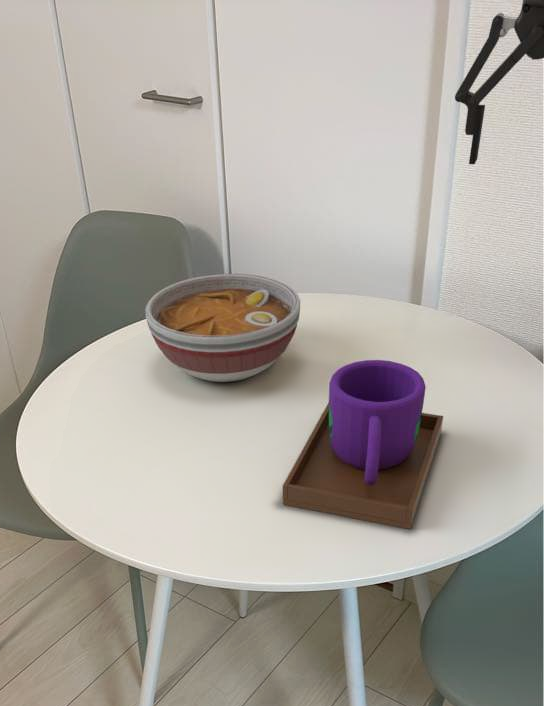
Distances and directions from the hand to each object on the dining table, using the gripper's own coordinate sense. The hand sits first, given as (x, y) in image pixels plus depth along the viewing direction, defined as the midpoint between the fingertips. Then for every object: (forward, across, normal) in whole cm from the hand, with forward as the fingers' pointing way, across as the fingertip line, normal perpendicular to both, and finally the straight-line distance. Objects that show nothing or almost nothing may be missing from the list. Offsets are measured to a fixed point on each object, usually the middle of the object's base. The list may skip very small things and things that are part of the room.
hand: (525, 164), depth 100 cm
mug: (+26, +10, +37) cm, 46 cm away
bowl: (+27, +38, +16) cm, 49 cm away
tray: (+27, +11, +36) cm, 46 cm away
